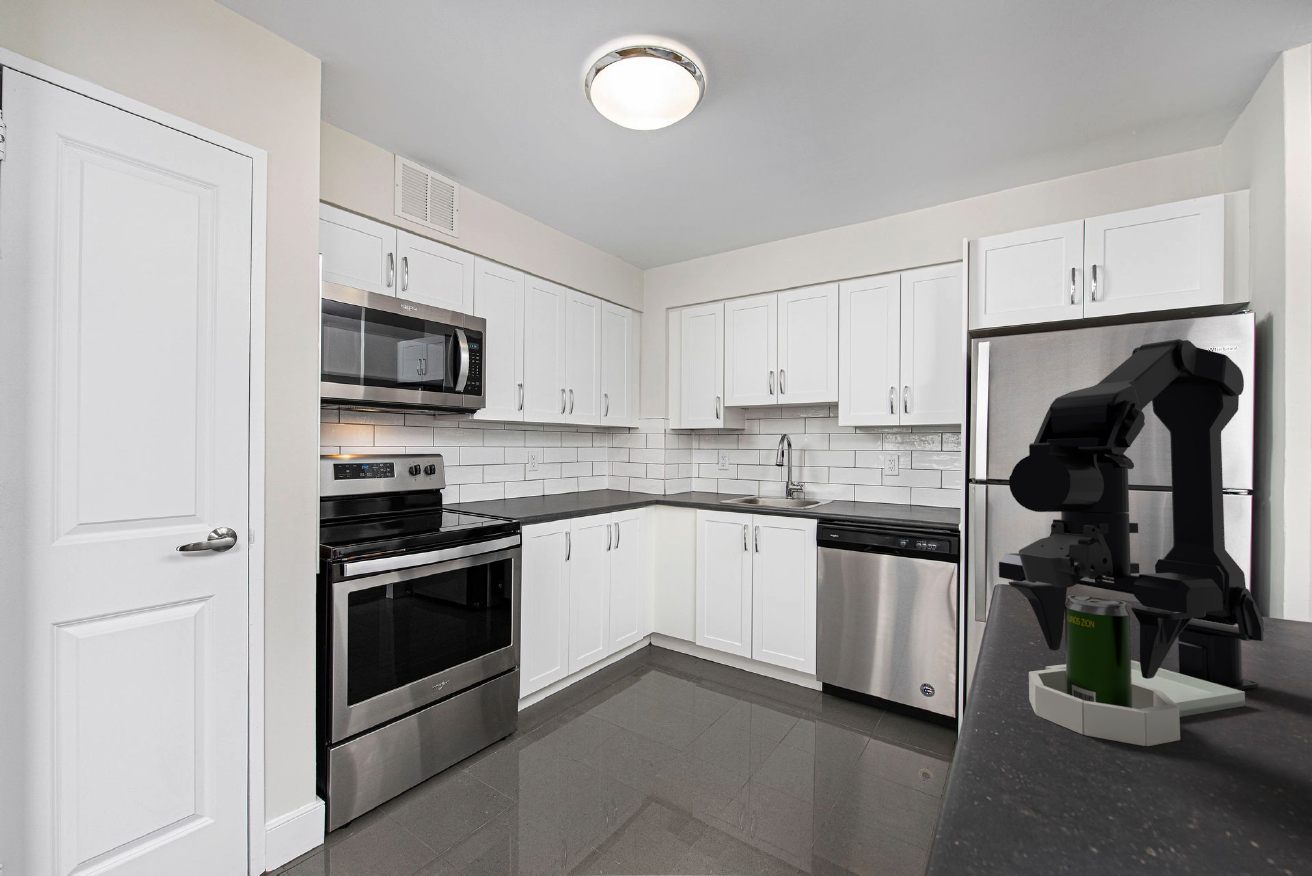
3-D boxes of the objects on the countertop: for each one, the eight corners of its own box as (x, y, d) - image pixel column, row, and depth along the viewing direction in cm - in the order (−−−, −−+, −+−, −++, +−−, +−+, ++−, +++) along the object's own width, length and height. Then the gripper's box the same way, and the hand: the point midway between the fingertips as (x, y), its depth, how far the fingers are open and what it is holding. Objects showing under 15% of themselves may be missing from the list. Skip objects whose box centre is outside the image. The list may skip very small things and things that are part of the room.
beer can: (1120, 734, 56) (1117, 607, 57) (1057, 714, 60) (1055, 597, 61) (1141, 722, 59) (1137, 602, 60) (1079, 704, 63) (1077, 592, 64)
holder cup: (1081, 692, 67) (1080, 665, 67) (1203, 735, 56) (1202, 703, 56) (1006, 702, 63) (1006, 674, 63) (1121, 751, 52) (1120, 716, 52)
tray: (1123, 669, 76) (1122, 657, 76) (1245, 705, 64) (1244, 691, 64) (1045, 679, 71) (1045, 666, 71) (1161, 720, 59) (1161, 705, 60)
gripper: (962, 506, 67) (963, 643, 66) (1142, 518, 50) (1147, 705, 49) (1032, 506, 71) (1034, 636, 70) (1223, 518, 53) (1229, 692, 52)
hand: (1097, 662), depth 60 cm, fingers open, 9 cm apart
